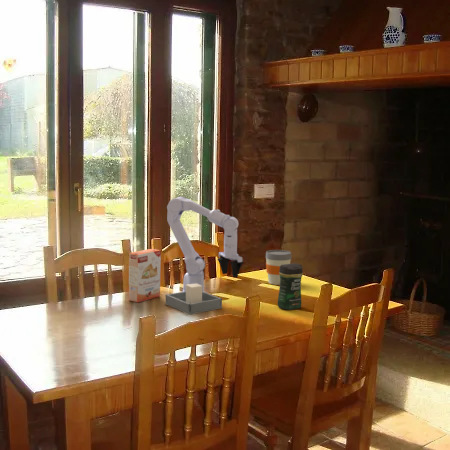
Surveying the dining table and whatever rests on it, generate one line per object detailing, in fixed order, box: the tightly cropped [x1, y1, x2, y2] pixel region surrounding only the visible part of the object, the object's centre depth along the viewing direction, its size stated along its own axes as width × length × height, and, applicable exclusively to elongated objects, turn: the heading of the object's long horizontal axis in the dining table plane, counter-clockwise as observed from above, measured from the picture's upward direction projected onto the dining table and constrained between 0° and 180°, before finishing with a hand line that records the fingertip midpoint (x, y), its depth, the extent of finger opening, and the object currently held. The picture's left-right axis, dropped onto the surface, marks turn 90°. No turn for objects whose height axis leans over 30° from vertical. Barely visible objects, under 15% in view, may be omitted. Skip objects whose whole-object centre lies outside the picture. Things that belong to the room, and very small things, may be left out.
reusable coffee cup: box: [265, 249, 293, 286], centre depth 291 cm, size 12×13×15 cm
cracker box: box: [128, 248, 162, 304], centre depth 258 cm, size 14×6×21 cm, turn 143°
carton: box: [186, 283, 202, 304], centre depth 249 cm, size 5×5×8 cm
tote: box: [165, 291, 223, 315], centre depth 249 cm, size 18×16×4 cm
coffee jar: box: [277, 263, 304, 311], centre depth 248 cm, size 10×8×19 cm
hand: (229, 275), depth 264 cm, fingers open, 7 cm apart
